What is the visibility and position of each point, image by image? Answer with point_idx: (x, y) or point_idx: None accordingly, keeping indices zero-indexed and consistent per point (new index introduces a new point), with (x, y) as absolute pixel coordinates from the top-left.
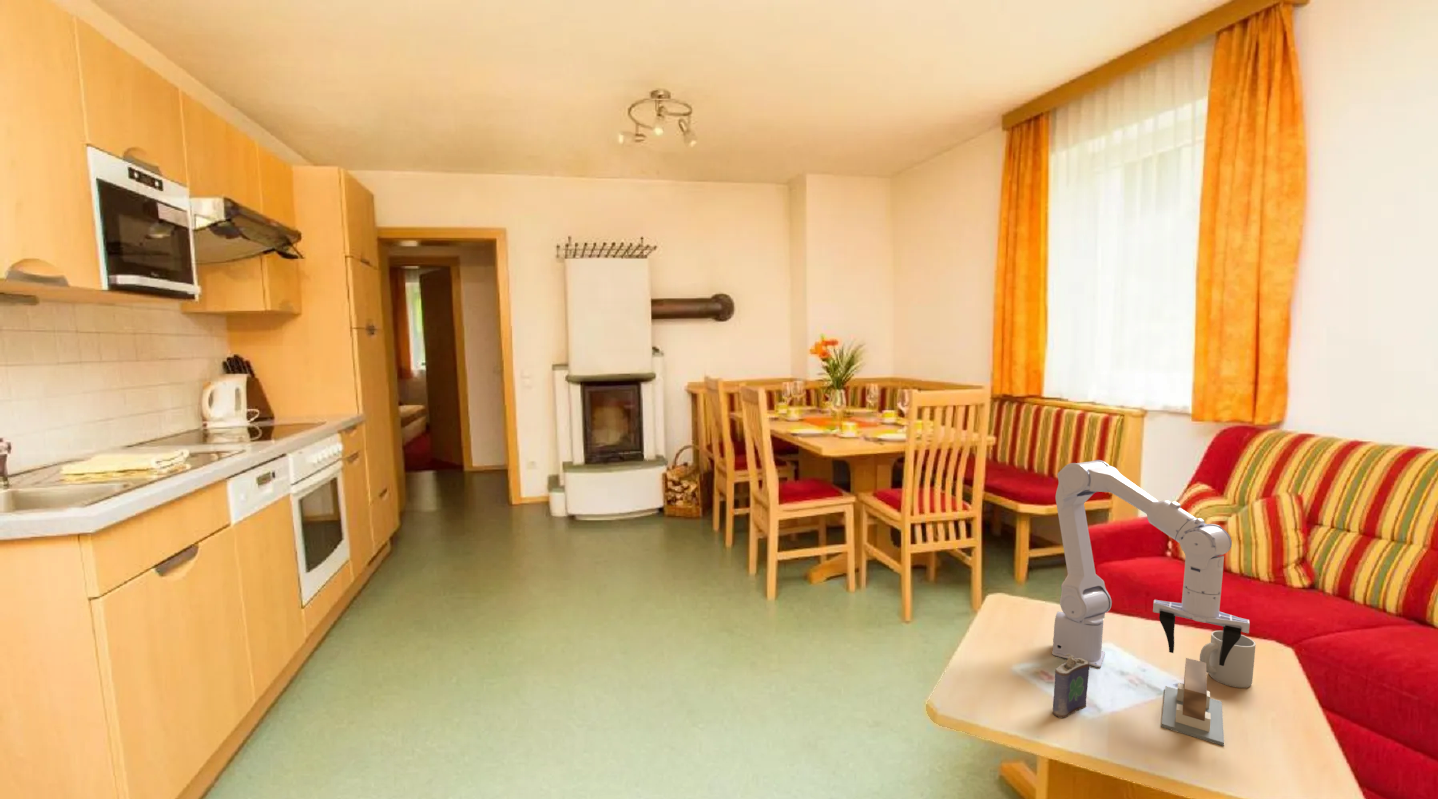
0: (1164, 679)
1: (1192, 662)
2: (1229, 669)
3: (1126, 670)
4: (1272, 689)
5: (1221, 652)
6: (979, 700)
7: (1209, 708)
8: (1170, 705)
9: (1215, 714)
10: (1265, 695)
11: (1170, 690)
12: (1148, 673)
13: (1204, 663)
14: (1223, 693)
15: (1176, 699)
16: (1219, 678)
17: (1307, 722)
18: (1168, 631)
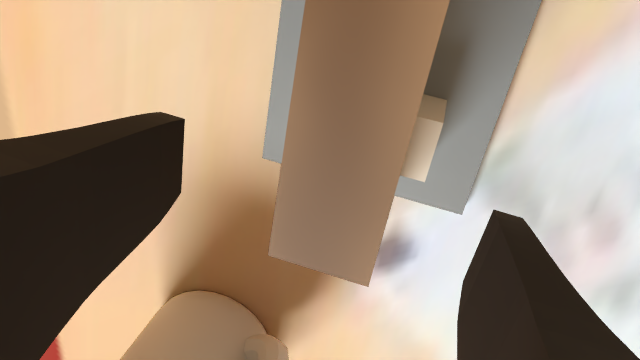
0: (440, 283)
1: (343, 237)
2: (197, 339)
3: None
4: (113, 304)
5: (105, 149)
6: None
7: None
8: (498, 24)
9: None
10: (131, 263)
11: (450, 181)
12: None
13: (278, 243)
14: (247, 238)
15: (448, 102)
16: (243, 318)
17: (32, 127)
18: (610, 357)
